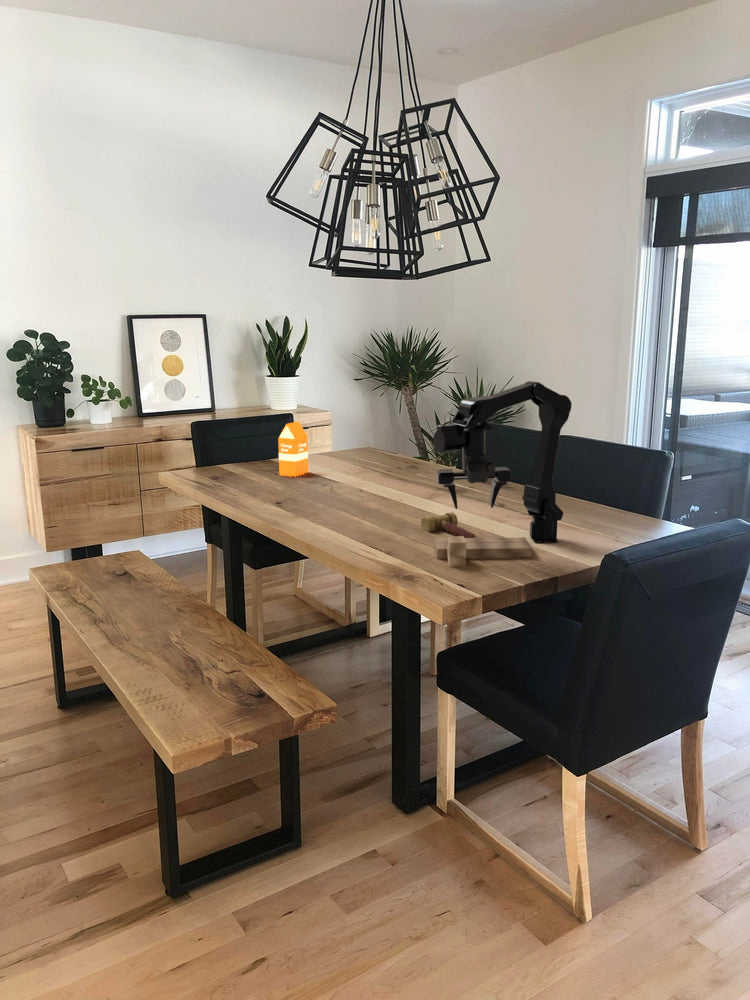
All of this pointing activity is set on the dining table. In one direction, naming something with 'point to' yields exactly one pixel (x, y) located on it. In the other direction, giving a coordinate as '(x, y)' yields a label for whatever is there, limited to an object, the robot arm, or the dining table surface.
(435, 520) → the gavel
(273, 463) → the dining table surface
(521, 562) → the dining table surface
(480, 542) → the plank
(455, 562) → the block
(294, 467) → the orange juice
